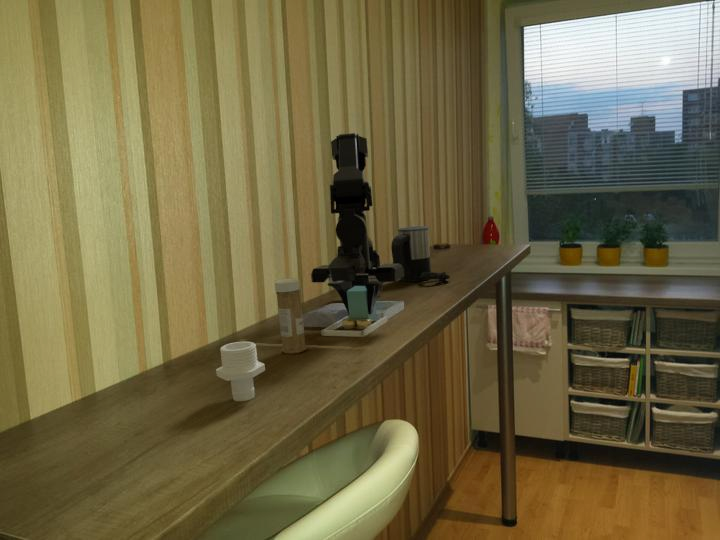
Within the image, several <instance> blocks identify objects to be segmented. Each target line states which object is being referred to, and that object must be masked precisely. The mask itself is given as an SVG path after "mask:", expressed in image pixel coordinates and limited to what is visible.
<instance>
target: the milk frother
mask: <svg viewBox="0 0 720 540" xmlns="http://www.w3.org/2000/svg"><path fill="white" fill-rule="evenodd" d="M429 228H430V226H426V225H425V226H418V225H417V226H409V227H402V228H397V229H396V230H397V231H398V235H395V236H394V237H393V239H392V241H391V245H390V249H391V256H392V257H391V258H392V264H401V265H402V267H403V269H404V277H402V278H400V279H399V280H401V281H403V282H421V281H429V280H438V281H439V282H440V281H444V282H446V280H448V279H450V278H451V275H449V274H447V273H446V272H444V271H443V272H432V268H431V254H430V237H429Z"/></svg>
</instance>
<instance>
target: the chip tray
mask: <svg viewBox="0 0 720 540" xmlns="http://www.w3.org/2000/svg"><path fill="white" fill-rule="evenodd" d="M345 318H350V317H349V316H346V317H345ZM345 318H343V319H345ZM343 319H341V320H339V321H338V322H336V323H334V324H332V325H330V326H329V327H324V329H321V330H320V334H321V336H325V337H327V336H328V337H360V338H363V337H366V336H367V335H369V334H370V333H372V332H373V331H375V330H376V329H378V328H380V327H381V326H382V325H385V323H387V322H388V319H387V317H383V318H381V319H380V320H378V321H374V323H371V325H370V326H369V327H367V328H366V329H362V330H339V329H338V328H339V327H341V326H343V322H342V320H343ZM336 329H338V330H336Z"/></svg>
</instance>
